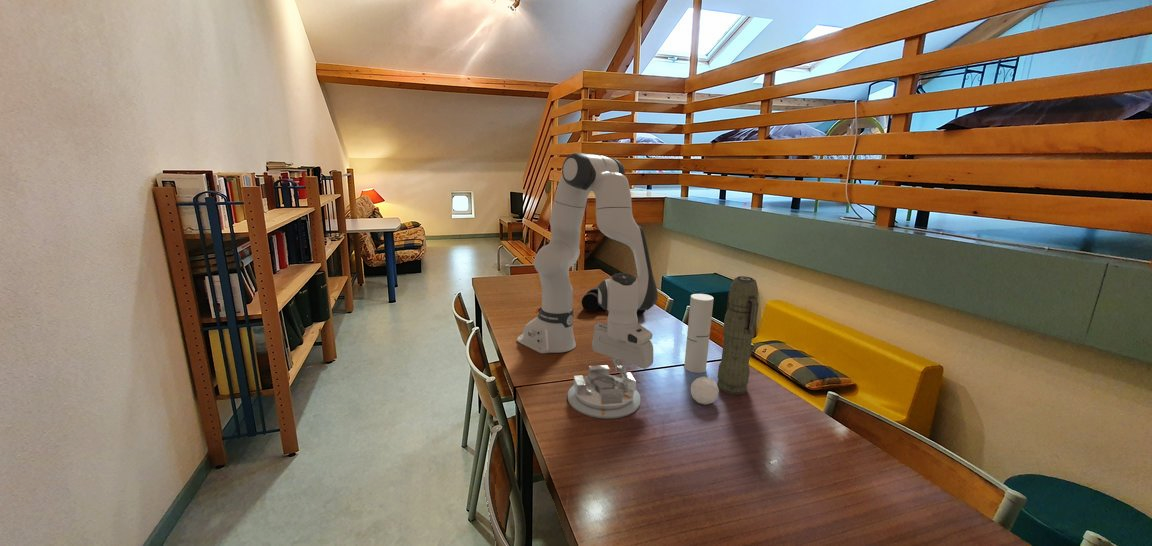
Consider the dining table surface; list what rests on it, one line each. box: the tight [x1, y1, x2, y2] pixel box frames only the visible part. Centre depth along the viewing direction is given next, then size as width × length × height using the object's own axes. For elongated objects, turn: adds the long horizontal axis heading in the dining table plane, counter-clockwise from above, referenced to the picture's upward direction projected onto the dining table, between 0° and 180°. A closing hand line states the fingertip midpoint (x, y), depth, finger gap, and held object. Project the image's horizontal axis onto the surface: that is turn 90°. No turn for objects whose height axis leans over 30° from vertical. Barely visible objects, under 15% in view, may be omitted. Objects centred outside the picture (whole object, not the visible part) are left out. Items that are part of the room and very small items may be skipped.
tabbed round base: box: [573, 364, 637, 410], centre depth 132 cm, size 17×17×5 cm
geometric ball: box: [690, 375, 720, 405], centre depth 131 cm, size 8×8×8 cm
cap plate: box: [567, 384, 641, 420], centre depth 133 cm, size 21×21×1 cm
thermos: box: [716, 275, 759, 395], centre depth 137 cm, size 9×12×35 cm
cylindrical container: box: [683, 293, 714, 374], centre depth 151 cm, size 7×7×25 cm
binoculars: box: [581, 286, 647, 316], centre depth 210 cm, size 29×20×10 cm
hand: (620, 372), depth 137 cm, fingers closed
